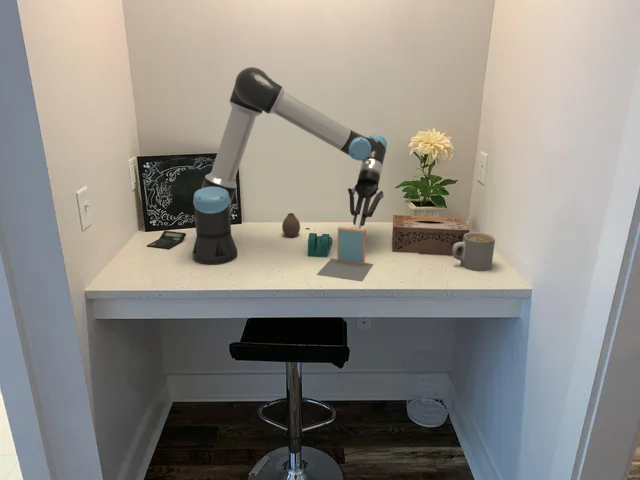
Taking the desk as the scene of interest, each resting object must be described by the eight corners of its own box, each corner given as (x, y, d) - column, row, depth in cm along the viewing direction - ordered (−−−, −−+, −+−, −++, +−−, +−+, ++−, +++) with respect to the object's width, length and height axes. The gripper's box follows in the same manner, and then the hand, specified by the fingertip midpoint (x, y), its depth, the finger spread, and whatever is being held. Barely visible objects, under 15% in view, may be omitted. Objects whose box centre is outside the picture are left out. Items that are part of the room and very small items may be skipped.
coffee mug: (488, 260, 173) (491, 233, 170) (493, 271, 164) (497, 243, 160) (448, 258, 175) (451, 231, 171) (451, 269, 165) (454, 240, 162)
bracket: (327, 259, 174) (327, 237, 171) (307, 258, 175) (307, 236, 172) (333, 241, 191) (333, 221, 188) (315, 240, 192) (315, 221, 189)
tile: (337, 262, 170) (337, 228, 166) (339, 259, 172) (339, 226, 168) (363, 265, 167) (364, 231, 163) (364, 263, 169) (366, 229, 165)
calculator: (147, 247, 184) (146, 239, 183) (165, 237, 194) (165, 230, 193) (169, 250, 181) (168, 242, 180) (186, 240, 192) (186, 232, 191)
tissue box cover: (392, 253, 180) (393, 226, 176) (392, 239, 193) (393, 214, 190) (466, 257, 177) (469, 230, 173) (460, 243, 190) (463, 217, 187)
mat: (316, 275, 160) (316, 274, 160) (331, 259, 173) (331, 258, 173) (362, 282, 155) (362, 281, 155) (373, 265, 168) (373, 264, 168)
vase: (280, 233, 199) (280, 212, 196) (297, 232, 201) (297, 210, 198) (284, 239, 192) (284, 217, 190) (302, 237, 194) (302, 215, 192)
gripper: (350, 167, 179) (335, 226, 170) (386, 170, 175) (373, 230, 166) (354, 179, 185) (340, 236, 176) (388, 181, 181) (376, 240, 172)
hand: (356, 233), depth 171 cm, fingers closed
